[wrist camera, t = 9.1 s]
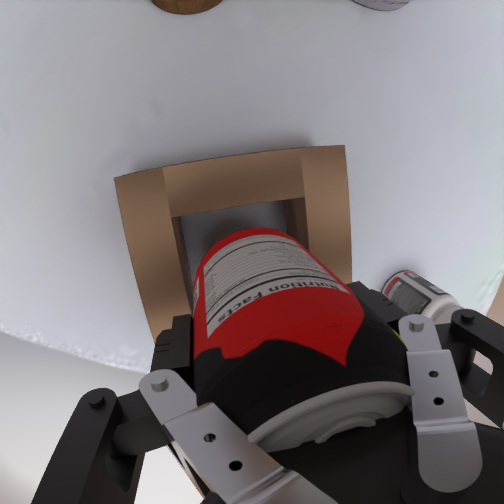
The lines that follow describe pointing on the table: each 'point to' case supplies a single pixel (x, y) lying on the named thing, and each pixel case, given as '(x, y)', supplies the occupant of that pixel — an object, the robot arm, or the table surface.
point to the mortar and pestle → (185, 5)
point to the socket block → (227, 196)
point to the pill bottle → (420, 297)
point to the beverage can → (289, 344)
